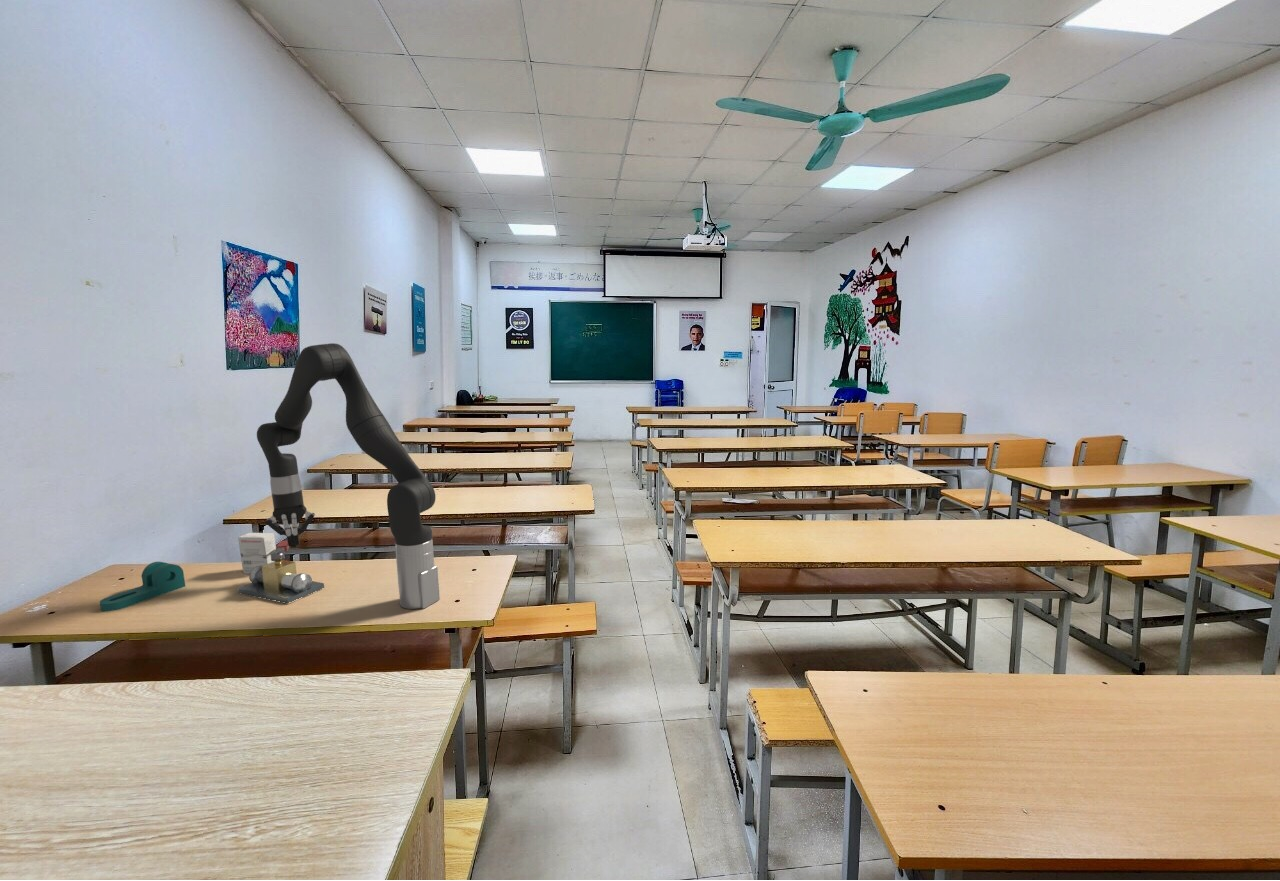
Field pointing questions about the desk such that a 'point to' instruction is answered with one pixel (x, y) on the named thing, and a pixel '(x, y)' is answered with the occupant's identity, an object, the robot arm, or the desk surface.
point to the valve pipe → (279, 582)
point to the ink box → (256, 550)
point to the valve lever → (280, 551)
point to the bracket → (148, 586)
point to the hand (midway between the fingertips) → (294, 546)
